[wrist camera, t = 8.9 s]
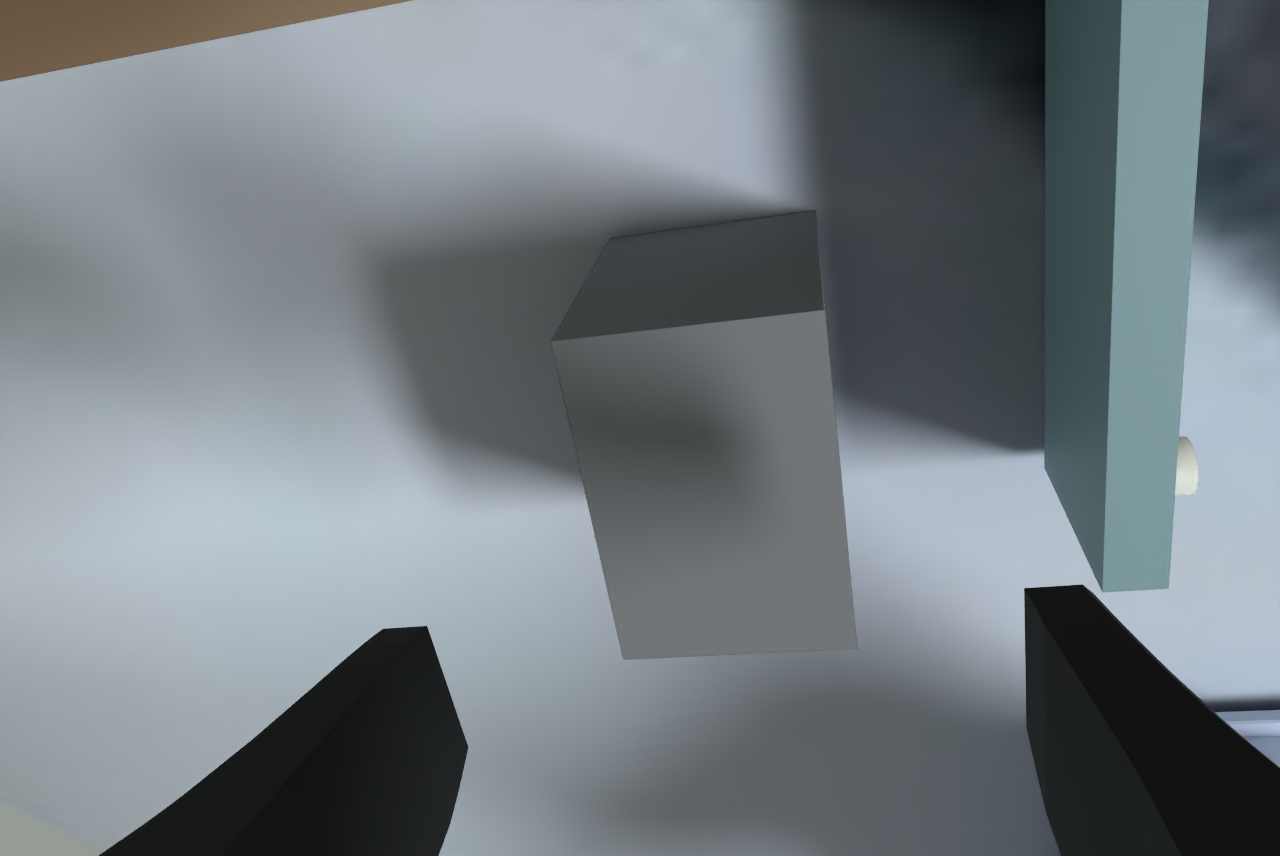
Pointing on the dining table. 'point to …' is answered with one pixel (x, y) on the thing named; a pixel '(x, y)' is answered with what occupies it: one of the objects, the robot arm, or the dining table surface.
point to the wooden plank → (137, 27)
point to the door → (1120, 272)
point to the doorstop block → (711, 439)
